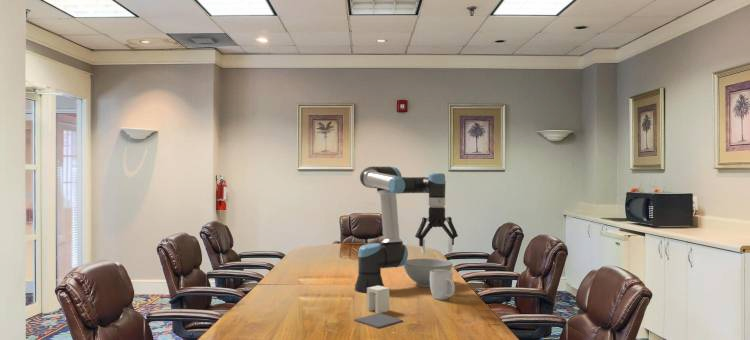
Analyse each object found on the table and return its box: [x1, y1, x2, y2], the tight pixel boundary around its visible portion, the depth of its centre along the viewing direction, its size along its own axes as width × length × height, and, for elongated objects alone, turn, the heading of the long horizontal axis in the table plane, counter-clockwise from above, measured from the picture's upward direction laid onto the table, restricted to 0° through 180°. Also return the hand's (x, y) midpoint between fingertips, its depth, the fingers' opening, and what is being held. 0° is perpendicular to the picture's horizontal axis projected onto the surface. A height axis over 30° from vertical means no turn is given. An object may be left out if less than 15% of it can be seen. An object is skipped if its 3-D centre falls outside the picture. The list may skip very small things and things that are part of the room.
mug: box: [429, 269, 456, 301], centre depth 246 cm, size 15×11×13 cm
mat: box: [353, 313, 404, 329], centre depth 209 cm, size 14×14×1 cm
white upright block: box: [366, 285, 390, 314], centre depth 225 cm, size 7×7×10 cm
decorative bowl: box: [403, 258, 454, 288], centre depth 279 cm, size 27×27×12 cm
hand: (436, 253), depth 235 cm, fingers open, 13 cm apart
